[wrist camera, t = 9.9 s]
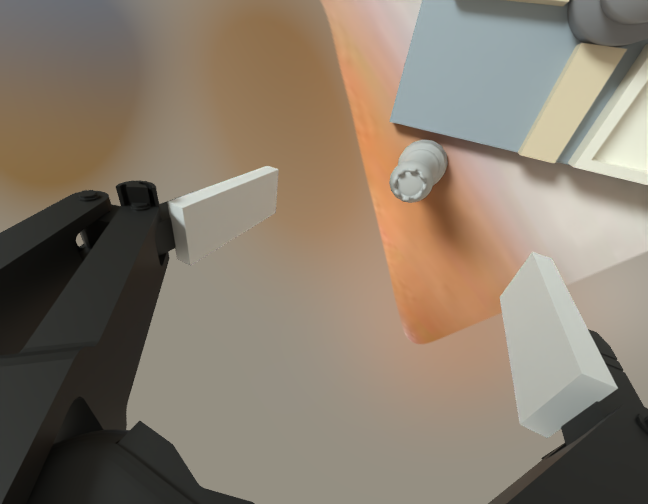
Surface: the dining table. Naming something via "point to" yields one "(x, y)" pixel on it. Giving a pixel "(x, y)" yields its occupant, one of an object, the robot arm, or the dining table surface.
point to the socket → (620, 130)
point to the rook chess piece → (418, 170)
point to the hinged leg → (626, 11)
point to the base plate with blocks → (514, 72)
